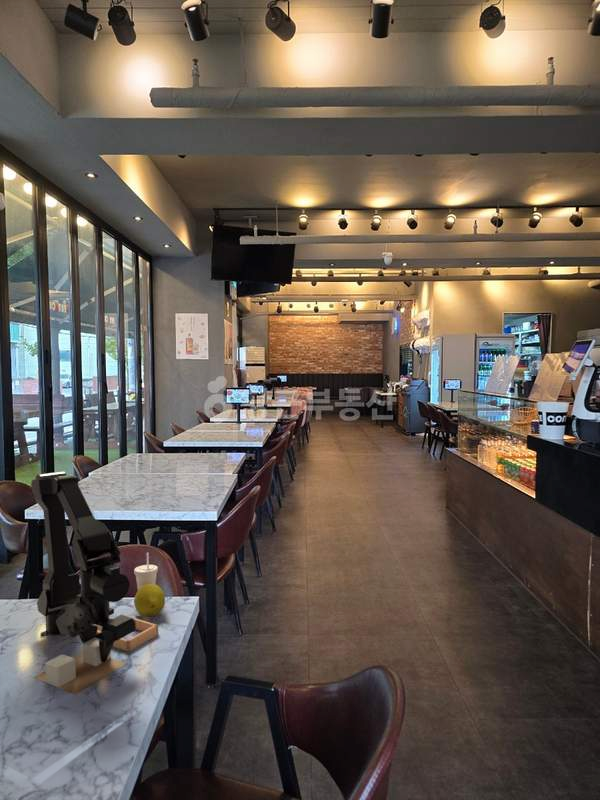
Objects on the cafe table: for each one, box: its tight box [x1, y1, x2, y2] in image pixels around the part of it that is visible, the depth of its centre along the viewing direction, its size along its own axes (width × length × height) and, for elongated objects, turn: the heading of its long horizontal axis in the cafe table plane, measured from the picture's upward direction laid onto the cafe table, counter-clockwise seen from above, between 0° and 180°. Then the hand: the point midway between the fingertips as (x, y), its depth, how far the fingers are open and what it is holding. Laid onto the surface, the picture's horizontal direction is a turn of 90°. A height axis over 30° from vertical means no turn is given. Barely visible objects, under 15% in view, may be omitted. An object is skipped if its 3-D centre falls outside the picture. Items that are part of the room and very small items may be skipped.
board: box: [33, 650, 128, 696], centre depth 114 cm, size 13×13×1 cm
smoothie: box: [133, 552, 159, 591], centre depth 150 cm, size 6×6×14 cm
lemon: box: [133, 584, 166, 618], centre depth 142 cm, size 11×8×8 cm
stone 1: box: [44, 653, 76, 689], centre depth 110 cm, size 4×4×4 cm
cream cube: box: [82, 638, 112, 666], centre depth 118 cm, size 4×4×4 cm
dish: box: [97, 614, 159, 652], centre depth 129 cm, size 12×9×3 cm
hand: (97, 658), depth 118 cm, fingers closed on cream cube, 4 cm apart
